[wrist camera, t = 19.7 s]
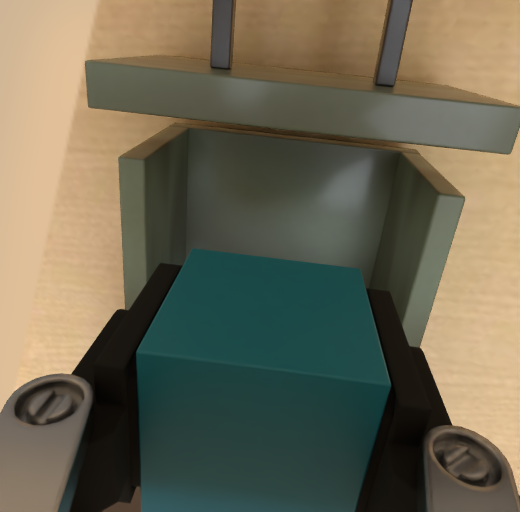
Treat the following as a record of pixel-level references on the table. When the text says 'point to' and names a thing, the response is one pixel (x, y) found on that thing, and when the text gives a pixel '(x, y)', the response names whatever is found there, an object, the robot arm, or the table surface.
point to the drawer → (296, 164)
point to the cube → (259, 388)
